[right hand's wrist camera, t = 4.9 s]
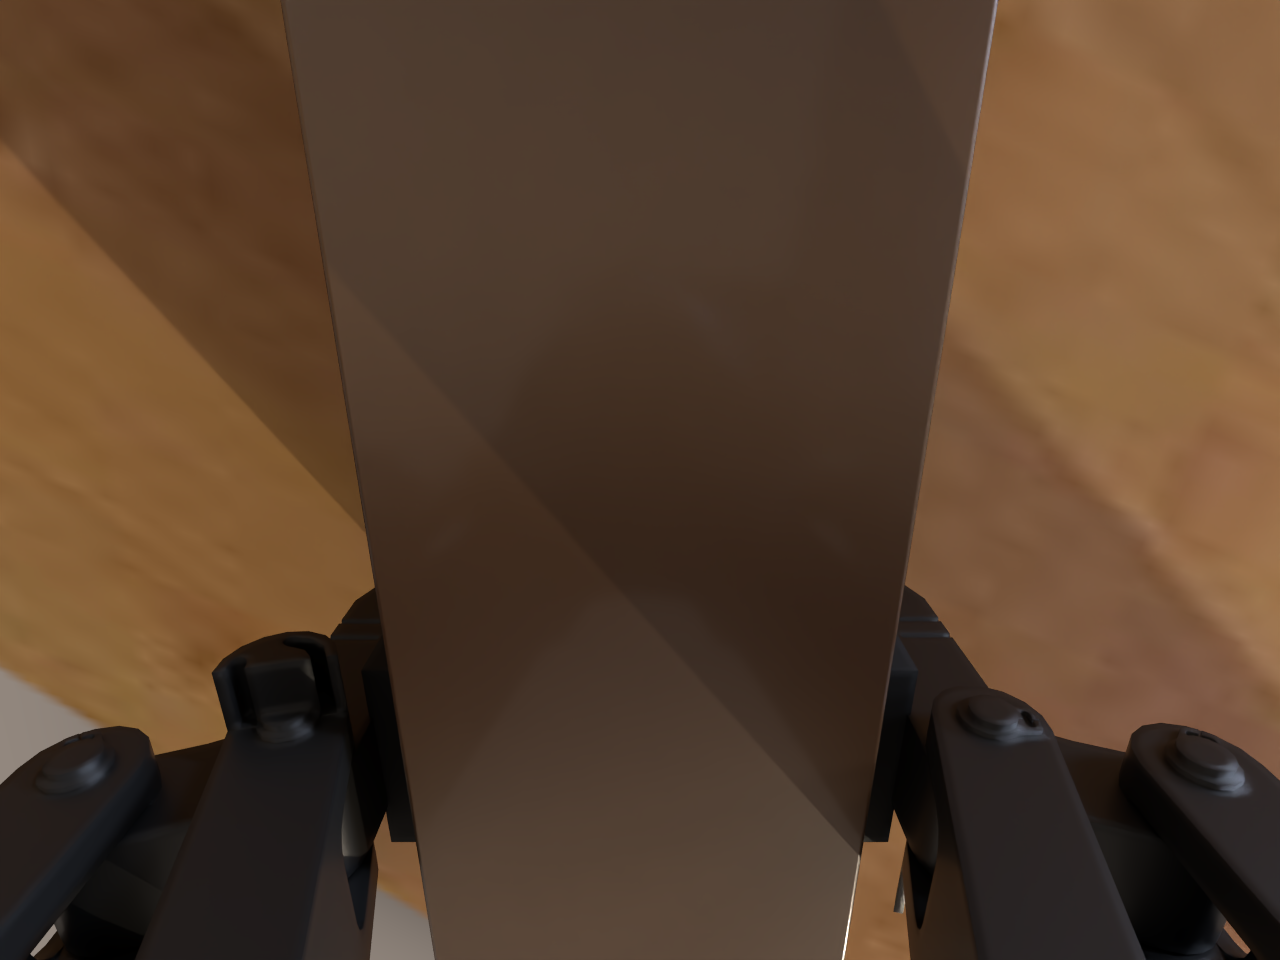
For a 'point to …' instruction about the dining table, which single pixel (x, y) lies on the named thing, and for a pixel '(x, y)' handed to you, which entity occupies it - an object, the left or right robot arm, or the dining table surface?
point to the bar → (639, 436)
